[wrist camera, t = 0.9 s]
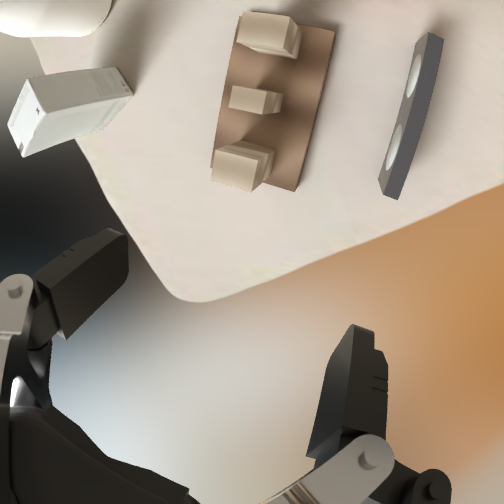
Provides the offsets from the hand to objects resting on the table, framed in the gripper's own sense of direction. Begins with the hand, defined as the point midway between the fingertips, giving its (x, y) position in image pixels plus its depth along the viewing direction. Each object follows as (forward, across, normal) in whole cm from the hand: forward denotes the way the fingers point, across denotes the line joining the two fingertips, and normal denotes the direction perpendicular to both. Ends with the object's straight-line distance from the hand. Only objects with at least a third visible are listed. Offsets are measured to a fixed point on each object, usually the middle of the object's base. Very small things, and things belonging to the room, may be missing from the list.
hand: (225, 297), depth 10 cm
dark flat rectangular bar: (+26, -8, -8) cm, 28 cm away
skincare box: (+26, +29, -1) cm, 39 cm away
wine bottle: (+26, +37, -15) cm, 48 cm away
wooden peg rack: (+26, +6, -4) cm, 27 cm away
